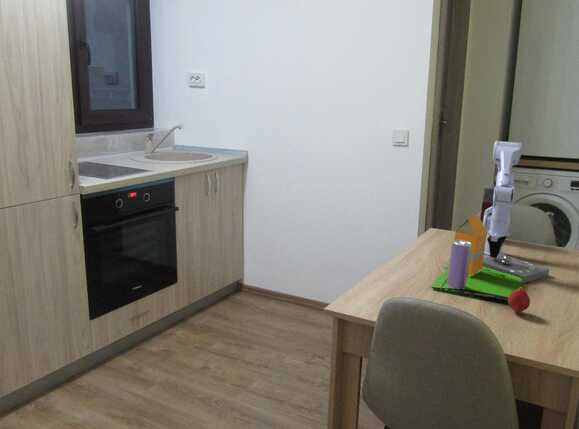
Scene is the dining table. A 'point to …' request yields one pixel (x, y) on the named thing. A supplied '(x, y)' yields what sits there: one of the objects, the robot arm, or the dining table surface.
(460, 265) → the beverage can
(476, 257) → the orange juice
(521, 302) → the red round lump
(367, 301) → the dining table surface
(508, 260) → the dial pointer
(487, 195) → the toy vending machine
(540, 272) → the dial plate
